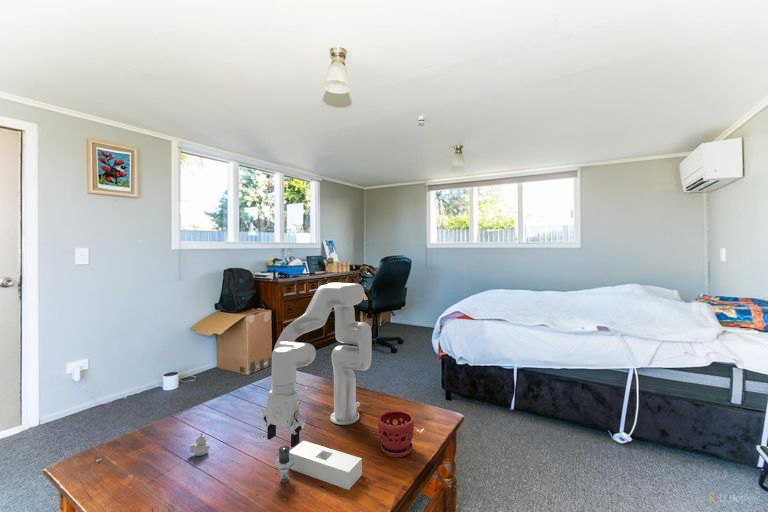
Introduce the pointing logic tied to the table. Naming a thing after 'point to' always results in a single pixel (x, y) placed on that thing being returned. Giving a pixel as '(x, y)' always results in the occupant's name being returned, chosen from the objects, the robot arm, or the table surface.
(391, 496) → the table surface
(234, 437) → the table surface
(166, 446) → the table surface
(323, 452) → the bar
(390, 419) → the plant pot
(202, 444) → the grey rounded lumpy piece
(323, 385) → the table surface
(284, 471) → the silver and black post
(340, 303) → the robot arm
